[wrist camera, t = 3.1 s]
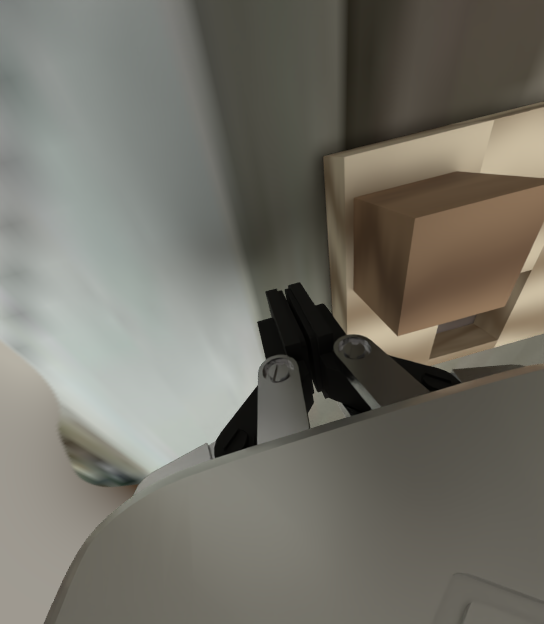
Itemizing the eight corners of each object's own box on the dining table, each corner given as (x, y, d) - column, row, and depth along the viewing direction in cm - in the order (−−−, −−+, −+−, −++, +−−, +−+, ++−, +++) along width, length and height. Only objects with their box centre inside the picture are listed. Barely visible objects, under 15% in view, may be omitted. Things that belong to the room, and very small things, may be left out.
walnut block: (353, 197, 13) (414, 218, 9) (456, 171, 13) (562, 179, 9) (353, 290, 16) (397, 336, 12) (435, 268, 17) (505, 306, 13)
